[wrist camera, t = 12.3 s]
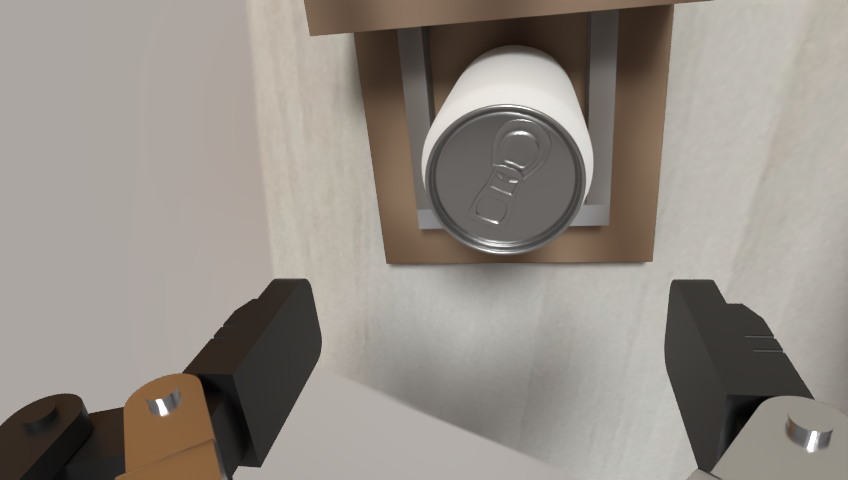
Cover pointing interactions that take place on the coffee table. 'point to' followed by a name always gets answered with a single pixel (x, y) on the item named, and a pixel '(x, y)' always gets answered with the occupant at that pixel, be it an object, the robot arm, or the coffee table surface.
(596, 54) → the wall board
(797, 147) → the coffee table surface
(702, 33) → the coffee table surface
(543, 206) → the can
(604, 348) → the coffee table surface
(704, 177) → the coffee table surface
